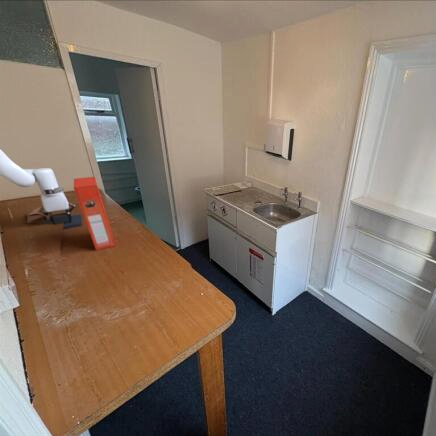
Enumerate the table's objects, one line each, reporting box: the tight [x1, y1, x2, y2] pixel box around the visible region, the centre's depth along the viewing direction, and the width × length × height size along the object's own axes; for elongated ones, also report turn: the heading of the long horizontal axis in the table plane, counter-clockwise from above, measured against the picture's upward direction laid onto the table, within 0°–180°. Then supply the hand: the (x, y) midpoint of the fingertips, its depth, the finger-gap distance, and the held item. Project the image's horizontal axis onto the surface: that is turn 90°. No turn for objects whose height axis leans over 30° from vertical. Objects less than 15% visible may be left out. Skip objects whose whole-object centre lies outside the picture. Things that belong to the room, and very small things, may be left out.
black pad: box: [52, 212, 69, 225], centre depth 134 cm, size 6×6×4 cm
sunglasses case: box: [26, 206, 48, 224], centre depth 141 cm, size 18×7×7 cm, turn 48°
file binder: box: [73, 176, 116, 251], centre depth 114 cm, size 8×17×32 cm, turn 40°
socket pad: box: [43, 213, 83, 230], centre depth 135 cm, size 16×16×2 cm
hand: (62, 220), depth 135 cm, fingers closed on black pad, 5 cm apart
